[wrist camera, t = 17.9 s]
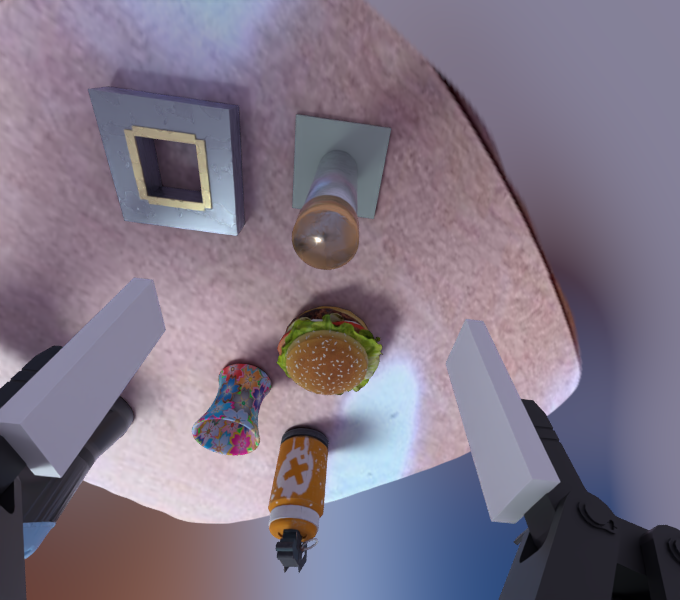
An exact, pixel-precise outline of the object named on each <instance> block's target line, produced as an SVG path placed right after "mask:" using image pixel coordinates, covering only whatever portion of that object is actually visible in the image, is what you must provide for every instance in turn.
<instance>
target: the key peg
mask: <svg viewBox="0 0 680 600" xmlns="http://www.w3.org/2000/svg"><path fill="white" fill-rule="evenodd" d="M292 243H293V247H294V249H295V252H296V253H297V255H298V256H299V257H300V258H301V259H302V260H303V261H304V262H305V263H307V264H308V265H310V266H312V267H314V268H318V269H324V270H331V269H336V268H339V267H342V266H343V265H345V264H347V263H348V262H349V261H350V260H351V259H352V258H353V257H354V255H355V254H356V251H357V249H358V244H359V221H358V217H357V164H356V162H355V160H354V158H353V157H352V156H351V155H350V154H349V153H347V152H345V151H342V150H333V151H330V152H328V153H326V154H325V155H324V156H323V157H322V159H321V160H320V163H319V165H318V168H317V171H316V174H315V176H314V179H313V182H312V184H311V187H310V190H309V192H308V195H307V198H306V201H305V203H304V206H303V207H302V209H301V210H300V213H299V215H298V218H297V220H296V223H295V226H294V228H293V232H292Z"/></svg>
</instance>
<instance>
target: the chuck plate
mask: <svg viewBox="0 0 680 600" xmlns="http://www.w3.org/2000/svg"><path fill="white" fill-rule="evenodd" d="M88 91H89V95H90V99H91V102H92V106H93V109H94V113H95V117H96V120H97V124H98V127H99V131H100V135H101V138H102V142H103V145H104V149H105V153H106V156H107V160H108V163H109V167H110V170H111V174H112V178H113V181H114V185H115V188H116V192H117V196H118V199H119V203H120V206H121V210H122V214H123V217H124V221H130V222H137V223H145V224H152V225H160V226H167V227H175V228H183V229H190V230H198V231H205V232H213V233H220V234H228V235H236V236H237V235H238V234H239V232H240V231H241V229H242V228H243V226H244V225H245V219H244V199H243V179H242V159H241V139H240V119H239V106H238V105H231V104H225V103H218V102H211V101H204V100H197V99H191V98H184V97H177V96H170V95H163V94H157V93H150V92H143V91H136V90H129V89H122V88H116V87H101V88H92V89H88ZM153 138H154V139H161V140H168V141H175V142H182V143H189V144H196V151H197V159H198V167H199V175H200V183H201V191H202V192H201V191H194V190H186V189H179V188H172V187H164V186H162V182H161V176H160V171H159V166H158V161H157V156H156V151H155V145H154V140H153Z"/></svg>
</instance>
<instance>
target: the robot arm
mask: <svg viewBox="0 0 680 600" xmlns="http://www.w3.org/2000/svg"><path fill="white" fill-rule="evenodd" d="M165 330H166V329H165V325H164V321H163V317H162V313H161V309H160V305H159V301H158V297H157V293H156V289H155V285H154V281H153V280H150V279H142V278H133V279H132V280H131V281H130V282H129V283H128V284H127V285H126V286H125V287H124V288H123V289H122V290H121V291H120V292H119V293H118V294H117V295H116V296H115V297H114V298H113V299H112V300H111V301H110V302H109V303H108V304H107V305H106V306H105V307H104V308H103V309H102V310H101V311H100V312H99V313H98V314H97V315H96V316H95V317H93V318H92V319H91V320H90V321H89V322H88V323H87V324H86V325H85V326H84V327H83V328H82V329H81V330H80V331H79V332H78V333H77V334H76V335H75V336H74V337H73V338H72V339H71V340H70V341H69V342H68V343H67V344H66V345H65V346H64V347H62V346H52V347H51V348H49V349H47V350H45V351H44V352H42V353H40V354H38V355H36V356H35V357H34V358H33V359H32V360H31V361H30V362H29V363H28V364H26V365H25V366H24V367H23V368H22V371H19V372H18V373H17V374H16V375H15V376H13V377H12V378H11V381H10V382H7V383H6V384H5V385H4V386H3V387H2V388H0V600H26V582H25V558H27V557H29V556H30V555H31V554H32V553H33V552H35V550H36V549H37V548H38V546H39V545H40V544H41V542H42V541H43V539H44V538H45V536H46V535H47V534H48V532H49V531H50V530H51V528H53V527H54V526H55V524H56V521H57V520H58V518H59V516H60V515H61V513H62V512H63V510H64V509H65V507H66V505H67V504H68V502H69V501H70V499H71V498H72V496H73V495H74V493H75V492H76V490H77V488H78V487H79V485H80V484H81V482H82V481H83V479H84V478H85V476H86V474H87V473H88V471H89V470H90V468H91V467H92V465H93V464H94V462H95V461H96V459H97V458H98V457H99V456H100V455H102V454H103V453H104V452H105V451H106V450H107V449H108V448H109V447H110V446H112V445H113V444H114V443H115V442H116V441H117V440H118V439H119V438H120V437H122V436H123V435H124V434H125V433H126V431H127V430H128V428H129V427H130V425H131V423H132V422H133V417H134V416H133V412H132V410H131V408H130V407H129V405H128V404H127V403H126V402H125V401H124V400H123V399H122V398H121V397H119V396H120V394H121V393H122V391H123V390H124V388H125V387H126V386H127V384H128V383H129V381H130V380H131V379H132V377H133V376H134V374H135V373H136V371H137V370H138V369H139V367H140V366H141V364H142V363H143V362H144V360H145V359H146V357H147V356H148V354H149V353H150V352H151V350H152V349H153V347H154V346H155V345H156V343H157V342H158V340H159V339H160V338H161V336H162V335H163V333H164V332H165ZM446 367H447V370H448V373H449V377H450V380H451V384H452V387H453V391H454V394H455V398H456V401H457V404H458V408H459V411H460V415H461V418H462V422H463V425H464V429H465V432H466V436H467V439H468V442H469V446H470V449H471V452H472V456H473V459H474V463H475V467H476V470H477V473H478V477H479V480H480V483H481V487H482V491H483V494H484V498H485V501H486V505H487V508H488V511H489V515H490V518H491V521H494V522H504V523H516V522H517V521H518V520H520V519H521V518H522V517H523V516H524V517H525V520H526V522H527V525H528V528H527V529H526V530H525V531H524V532H523V533H522V534H520V535H519V536H518V537H517V538H516V540H515V541H514V543H515V544H517V545H518V544H519V543H520V542H521V543H520V545H519V548H518V551H517V553H516V556H515V559H514V561H513V564H512V567H511V569H510V571H509V574H508V577H507V579H506V582H505V584H504V587H503V590H502V592H501V595H500V597H499V600H680V530H678V529H676V528H673V527H670V526H668V525H658V526H656V527H654V528H653V529H651V530H647V529H644V528H642V527H640V526H637V525H635V524H633V523H630V522H628V521H626V520H623V519H621V518H618V517H617V516H615V515H614V514H613V512H612V511H611V510H610V509H609V507H608V506H607V505H606V504H605V503H604V502H602V501H601V500H600V499H599V498H598V497H596V496H594V495H592V494H591V493H589V492H587V490H586V489H585V487H584V486H583V484H582V482H581V480H580V478H579V476H578V474H577V473H576V471H575V469H574V467H573V465H572V463H571V461H570V459H569V457H568V456H567V454H566V452H565V450H564V448H563V446H562V444H561V443H560V442H559V438H558V437H557V435H556V433H555V431H553V427H552V425H551V423H550V421H549V420H548V418H547V416H546V414H545V413H544V412H543V411H542V409H541V408H540V407H539V406H538V405H537V404H536V403H535V402H534V401H533V400H525V399H520V397H519V394H518V392H517V390H516V388H515V386H514V384H513V382H512V380H511V378H510V376H509V374H508V372H507V369H506V367H505V365H504V363H503V361H502V359H501V357H500V355H499V353H498V351H497V349H496V347H495V344H494V342H493V340H492V338H491V336H490V334H489V332H488V330H487V328H486V326H485V324H484V322H483V321H478V320H470V319H466V320H465V322H464V324H463V326H462V328H461V331H460V333H459V335H458V337H457V339H456V342H455V344H454V346H453V348H452V350H451V353H450V355H449V357H448V359H447V361H446Z"/></svg>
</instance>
